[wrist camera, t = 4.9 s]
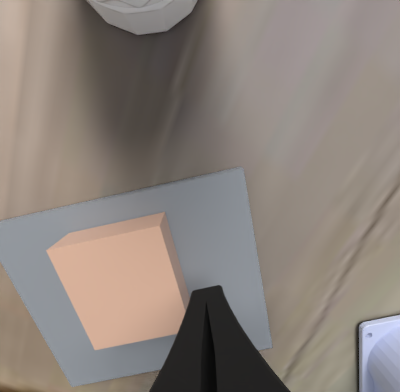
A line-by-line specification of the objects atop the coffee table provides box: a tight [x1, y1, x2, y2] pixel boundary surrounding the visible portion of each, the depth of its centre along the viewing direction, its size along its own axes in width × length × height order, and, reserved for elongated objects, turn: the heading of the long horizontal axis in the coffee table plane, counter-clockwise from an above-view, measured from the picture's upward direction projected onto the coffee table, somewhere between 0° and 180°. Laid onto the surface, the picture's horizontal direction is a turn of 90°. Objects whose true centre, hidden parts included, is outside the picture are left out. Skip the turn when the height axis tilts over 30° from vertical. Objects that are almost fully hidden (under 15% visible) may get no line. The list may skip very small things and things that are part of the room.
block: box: [46, 212, 190, 350], centre depth 12 cm, size 7×2×6 cm
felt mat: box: [0, 167, 273, 387], centre depth 14 cm, size 14×16×1 cm
